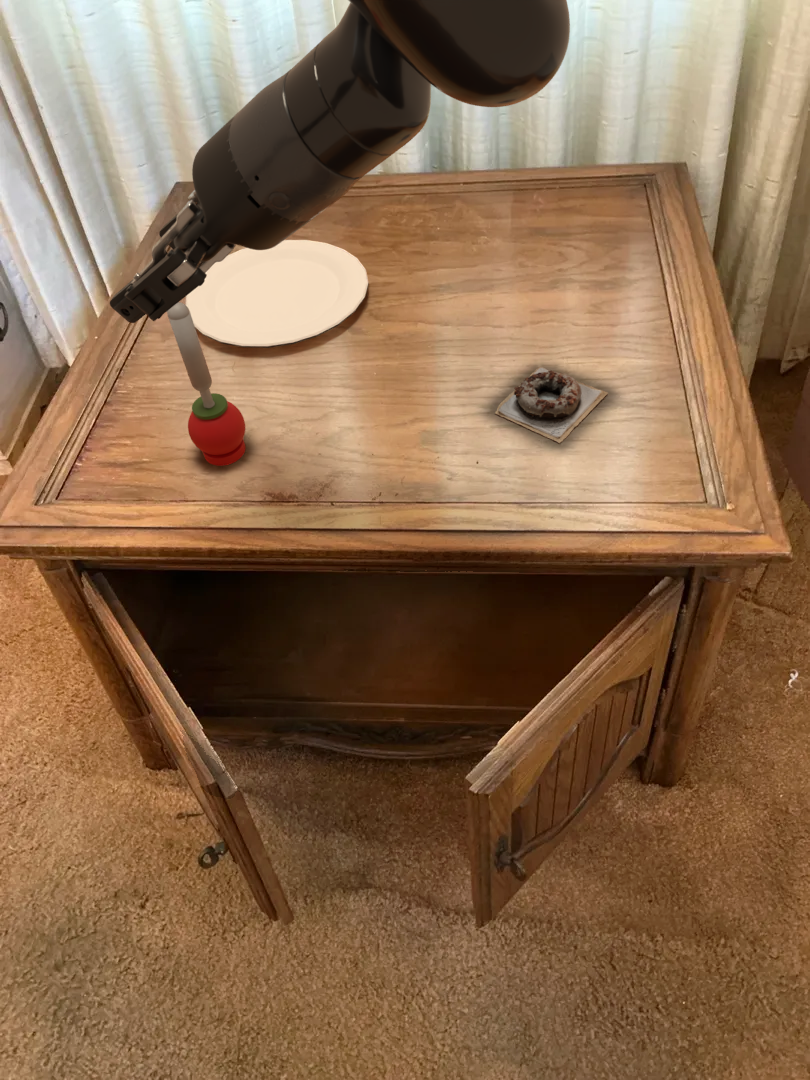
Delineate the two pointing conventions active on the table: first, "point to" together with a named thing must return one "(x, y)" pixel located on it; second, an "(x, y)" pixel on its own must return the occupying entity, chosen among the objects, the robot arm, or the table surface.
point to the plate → (278, 294)
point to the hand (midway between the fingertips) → (146, 275)
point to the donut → (550, 403)
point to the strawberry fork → (207, 398)
